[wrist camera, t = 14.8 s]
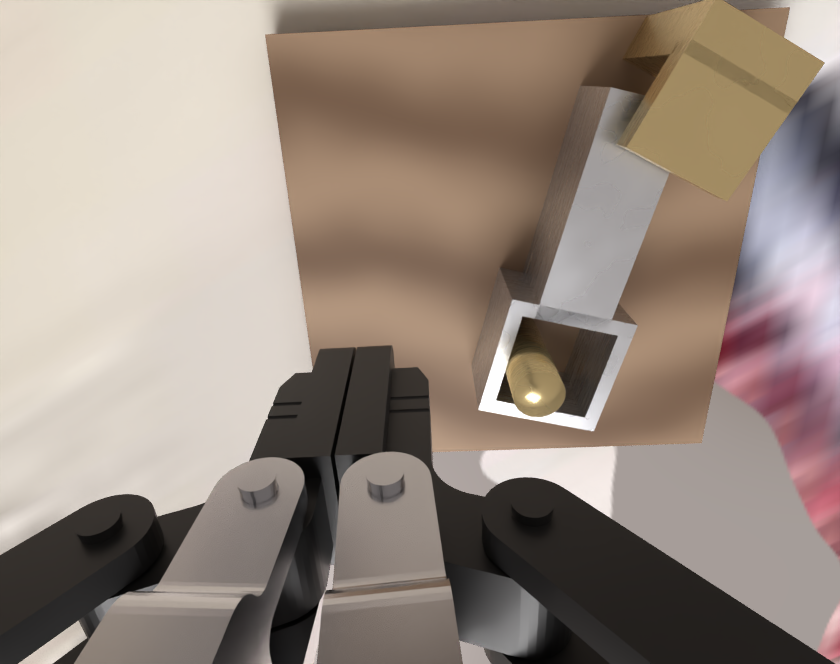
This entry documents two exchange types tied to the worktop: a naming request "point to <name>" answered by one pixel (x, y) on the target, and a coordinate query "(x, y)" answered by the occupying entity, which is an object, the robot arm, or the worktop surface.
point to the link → (577, 262)
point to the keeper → (712, 92)
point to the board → (487, 214)
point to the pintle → (533, 373)
